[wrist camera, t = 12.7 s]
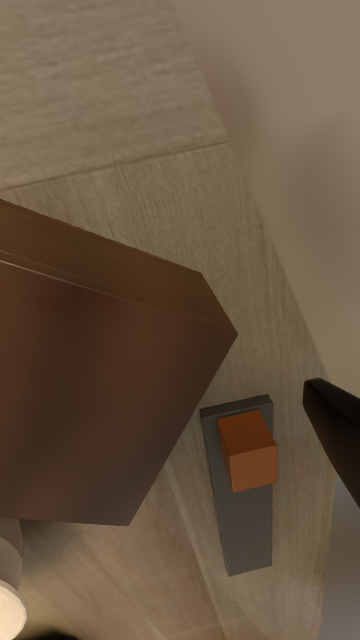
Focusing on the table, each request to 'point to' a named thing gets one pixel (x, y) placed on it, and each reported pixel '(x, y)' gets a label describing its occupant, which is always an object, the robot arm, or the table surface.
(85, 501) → the cabinet
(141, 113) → the table surface
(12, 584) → the bowl
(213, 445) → the board
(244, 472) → the orange cube block
